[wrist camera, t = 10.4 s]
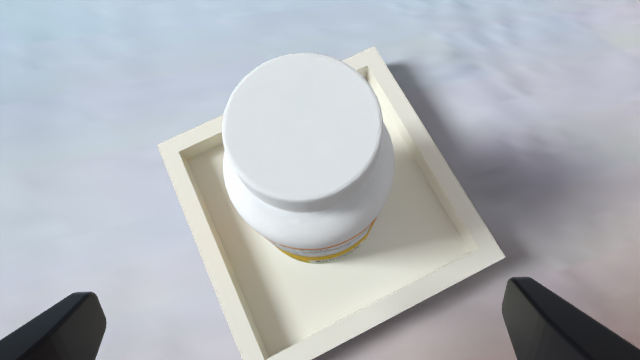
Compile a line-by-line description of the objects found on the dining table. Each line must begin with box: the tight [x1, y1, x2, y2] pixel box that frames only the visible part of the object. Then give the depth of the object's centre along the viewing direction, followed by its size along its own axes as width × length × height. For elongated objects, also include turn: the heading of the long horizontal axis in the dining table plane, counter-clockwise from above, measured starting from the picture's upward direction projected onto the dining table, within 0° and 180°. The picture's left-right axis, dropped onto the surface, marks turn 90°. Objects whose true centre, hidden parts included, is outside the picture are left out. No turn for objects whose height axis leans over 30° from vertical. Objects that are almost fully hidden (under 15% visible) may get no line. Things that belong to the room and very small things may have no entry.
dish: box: [157, 46, 505, 360], centre depth 19 cm, size 12×12×2 cm
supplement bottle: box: [222, 53, 395, 264], centre depth 14 cm, size 5×5×10 cm
